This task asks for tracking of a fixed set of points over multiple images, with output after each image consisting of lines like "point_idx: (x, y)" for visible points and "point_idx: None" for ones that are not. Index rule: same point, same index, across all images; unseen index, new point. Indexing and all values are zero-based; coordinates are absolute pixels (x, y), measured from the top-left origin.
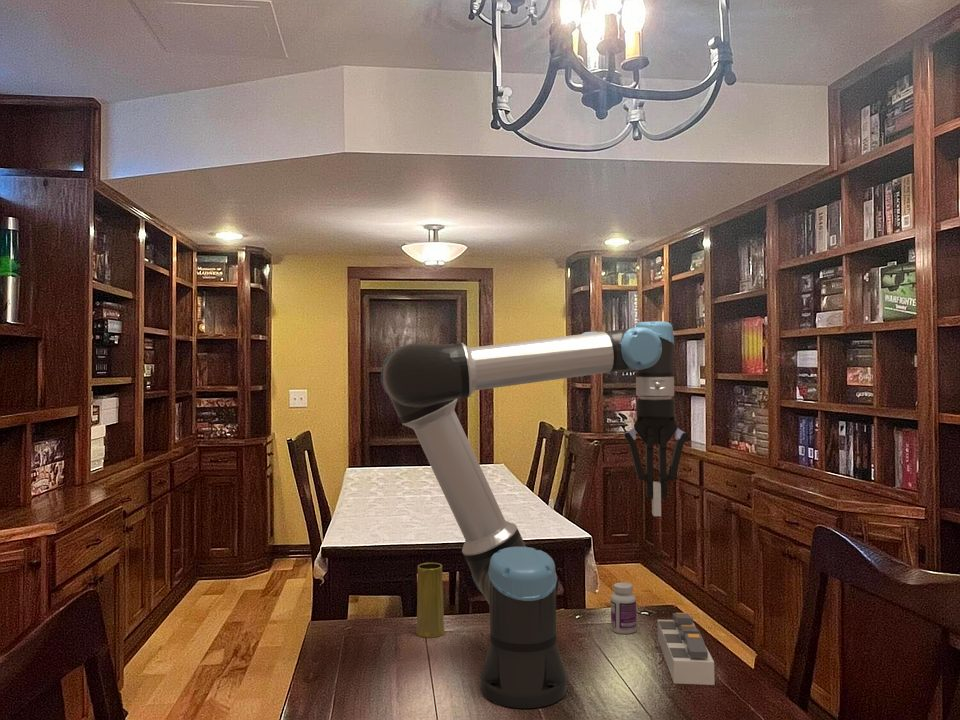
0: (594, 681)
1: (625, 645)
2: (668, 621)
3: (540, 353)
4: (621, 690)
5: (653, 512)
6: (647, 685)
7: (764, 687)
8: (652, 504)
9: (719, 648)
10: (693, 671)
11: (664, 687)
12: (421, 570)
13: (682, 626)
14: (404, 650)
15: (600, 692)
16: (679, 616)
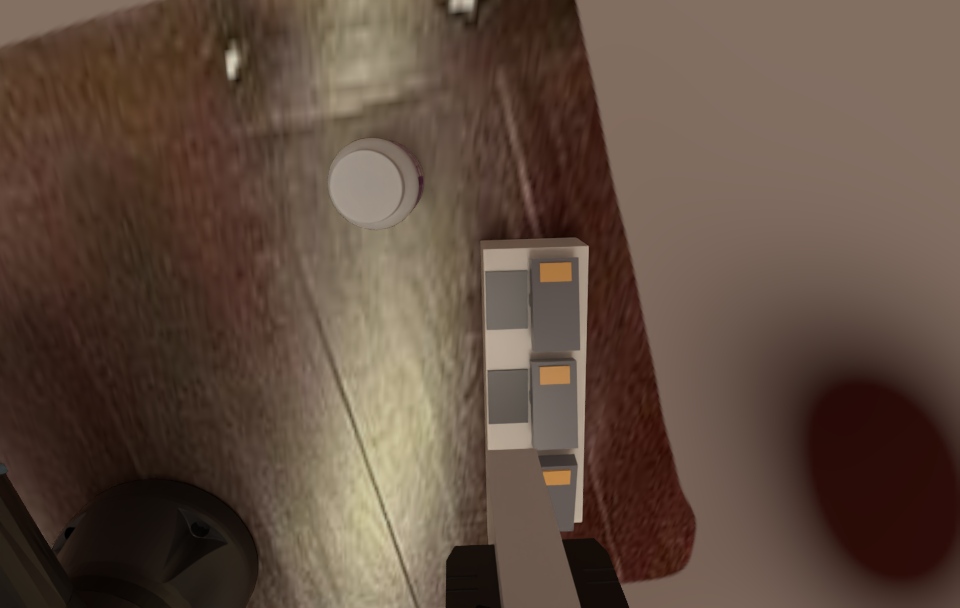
0: (314, 507)
1: (388, 296)
2: (514, 271)
3: None
4: (372, 538)
5: (488, 538)
6: (428, 510)
7: (672, 488)
8: (490, 522)
9: (635, 287)
10: None
11: (463, 514)
12: None
13: (541, 384)
14: None
15: (329, 552)
16: (544, 323)
